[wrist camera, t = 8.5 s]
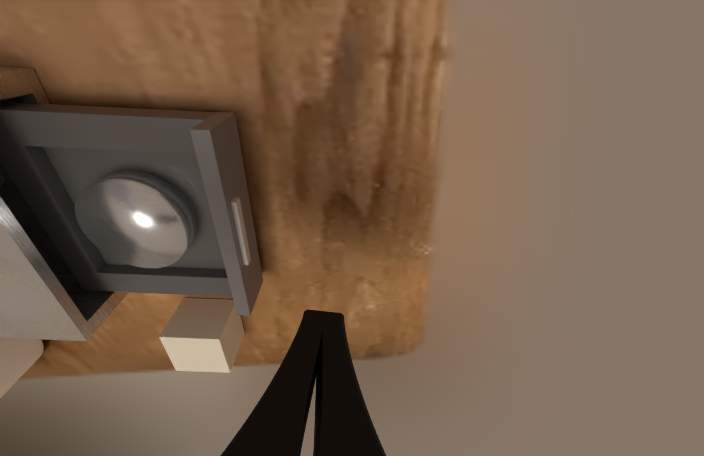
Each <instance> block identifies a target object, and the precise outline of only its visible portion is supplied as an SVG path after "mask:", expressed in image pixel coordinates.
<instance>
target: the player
mask: <svg viewBox="0 0 704 456" xmlns="http://www.w3.org/2000/svg"><path fill="white" fill-rule="evenodd" d="M0 102H16V103H36V104H50V102H49V100H48V98H47V95H46V93H45V91H44V89H43V87H42V85H41V83H40V81H39V79H38V77H37V75H36V73H35V71H34V69H33V68H20V67H1V66H0ZM128 293H129V292H112V291H86V290H83V289H82V287H81V286H80V284H79V283H78V281H77V280H76V278H75V276H74V275H73V273H72V272H71V270H70V269H69V267H68V266H67V264H66V262H65V261H64V259H63V258H62V256H61V255H60V253H59V252H58V250H57V248H56V247H55V245H54V244H53V242H52V241H51V239H50V237H49V236H48V234H47V233H46V231H45V230H44V228H43V227H42V225H41V223H40V222H39V220H38V219H37V217H36V216H35V214H34V213H33V211H32V209H31V208H30V206H29V205H28V203H27V202H26V200H25V199H24V197H23V195H22V194H21V192H20V191H19V189H18V188H17V186H16V185H15V183H14V181H13V180H12V178H11V177H10V175H9V174H8V172H7V171H6V169H5V167H4V166H3V164H2V163H1V161H0V338H19V339H46V340H72V341H87V340H88V339H89V338H90V337H91V336H92V335H93V333H94V332H95V331H96V330H97V329H98V328H99V326H100V325H101V324H102V323H103V322H104V321H105V319H106V318H107V317H108V316H109V315H110V314H111V313H112V311H113V310H114V309H115V308H116V307H117V306H118V304H119V303H120V302H121V301H122V300H123V299H124V297H125V296H126V295H127V294H128Z"/></svg>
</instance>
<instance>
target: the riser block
mask: <svg viewBox="0 0 704 456" xmlns="http://www.w3.org/2000/svg"><path fill="white" fill-rule="evenodd" d="M244 333H245V332H244V328H243V324H242V320H241V316H240V315H237V313H236V309H235V305H234V301H233V300H227V299H202V298H184V299H183V300H182V302H181V303H180V305H179V307H178V308H177V310H176V311H175V313H174V314H173V316H172V318H171V319H170V321H169V322H168V324H167V325H166V327H165V329H164V330H163V332H162V333H161V335H160V336H159V338H160V340H161V342H162V344H163V346H164V348H165V350H166V352H167V354H168V356H169V358H170V360H171V362H172V364H173V366H174V367H175V369H176V371H200V372H202V371H203V372H228V373H229V372H230V371H231V369H232V366H233V363H234V360H235V358H236V355H237V352H238V349H239V347H240V344H241V341H242V339H243V336H244Z"/></svg>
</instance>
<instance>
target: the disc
mask: <svg viewBox="0 0 704 456" xmlns="http://www.w3.org/2000/svg"><path fill="white" fill-rule="evenodd" d="M75 215H76V219H77V222H78V224H79V226H80V228H81V229H82V231H83V233H84V234H85V235H86V236H87V238H88V239H89V240H90V241H91V242H92V243H93V244H94V245H95V246H97V247H98V248H99V249H100V250H102V251H103V252H104V253H106V254H107V255H109V256H111V257H113V258H114V259H116V260H119V261H121V262H123V263H126V264H129V265H132V266H136V267H141V268H162V267H166V266H169V265H171V264H173V263H175V262H176V261H178V260H179V259H180V258H181V256H182V255H183V254H184V252H185V251H186V250H187V249H188V247H189V246H190V245H191V243H192V242H193V241H194V239H195V238H196V236H197V233H198V229H199V220H198V216H197V213H196V210H195V208H194V207H193V205H192V203H191V202H190V200H189V199H188V198H187V197H186V195H185V194H184V193H183V192H182V191H181V190H180V189H178V188H177V187H176V186H175V185H173V184H172V183H170V182H169V181H167V180H166V179H164V178H162V177H160V176H158V175H155V174H153V173H150V172H146V171H142V170H135V169H124V170H119V171H115V172H113V173H111V174H109V175H107V176H105V177H104V178H102V179H100V180H99V181H97V182H95V183H94V184H92V185H90V186H88V187H87V188H85V189H84V190H83V191H82V192H81V193H80V194H79V195H78V197H77V199H76V203H75Z"/></svg>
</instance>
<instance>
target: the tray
mask: <svg viewBox="0 0 704 456" xmlns="http://www.w3.org/2000/svg"><path fill="white" fill-rule="evenodd" d="M0 161H1V163H2V164H3V166H4V167H5V169H6V171H7V172H8V174H9V175H10V177H11V178H12V180H13V181H14V183H15V185H16V186H17V188H18V189H19V191H20V192H21V194H22V195H23V197H24V199H25V200H26V202H27V203H28V205H29V206H30V208H31V209H32V211H33V213H34V214H35V216H36V217H37V219H38V220H39V222H40V223H41V225H42V227H43V228H44V230H45V231H46V233H47V234H48V236H49V237H50V239H51V241H52V242H53V244H54V245H55V247H56V248H57V250H58V252H59V253H60V255H61V256H62V258H63V259H64V261H65V262H66V264H67V266H68V267H69V269H70V270H71V272H72V273H73V275H74V276H75V278H76V280H77V281H78V283H79V284H80V286H81V287H82V289H83V290H86V291H112V292H137V293H162V294H187V295H212V296H232V297H233V301H234V305H235V309H236V313H237V315H245V316H250V315H251V313H252V310H253V307H254V304H255V302H256V299H257V296H258V294H259V291H260V288H261V285H262V283H263V278H262V272H261V266H260V260H259V254H258V248H257V242H256V236H255V230H254V224H253V218H252V212H251V206H250V200H249V194H248V188H247V182H246V176H245V170H244V164H243V158H242V152H241V146H240V140H239V134H238V128H237V122H236V116H235V113H232V112H200V111H180V110H159V109H139V108H118V107H98V106H77V105H57V104H36V103H16V102H0ZM124 169H135V170H142V171H146V172H150V173H153V174H155V175H158V176H160V177H162V178H164V179H166V180H167V181H169V182H170V183H172V184H173V185H175V186H176V187H177V188H178V189H180V190H181V191H182V192H183V193H184V194H185V195H186V197H187V198H188V199H189V200H190V202H191V203H192V205H193V207H194V208H195V210H196V213H197V216H198V220H199V229H198V233H197V236H196V238H195V239H194V241H193V242H192V243H191V245H190V246H189V247H188V249H187V250H186V251H185V252H184V254H183V255H182V256H181V258H180V259H179V260H178V261H176V262H175V263H173V264H171V265H169V266H166V267H162V268H141V267H136V266H132V265H129V264H126V263H123V262H121V261H119V260H116V259H114V258H113V257H111V256H109V255H107V254H106V253H104V252H103V251H102V250H100V249H99V248H98V247H97V246H95V245H94V244H93V243H92V242H91V241H90V240H89V239H88V238H87V236H86V235H85V234H84V233H83V231H82V229H81V228H80V226H79V224H78V222H77V219H76V215H75V203H76V199H77V197H78V195H79V194H80V193H81V192H82V191H83V190H84V189H85V188H87V187H88V186H90V185H92V184H94V183H95V182H97V181H99V180H100V179H102V178H104V177H105V176H107V175H109V174H111V173H113V172H115V171H119V170H124Z"/></svg>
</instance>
